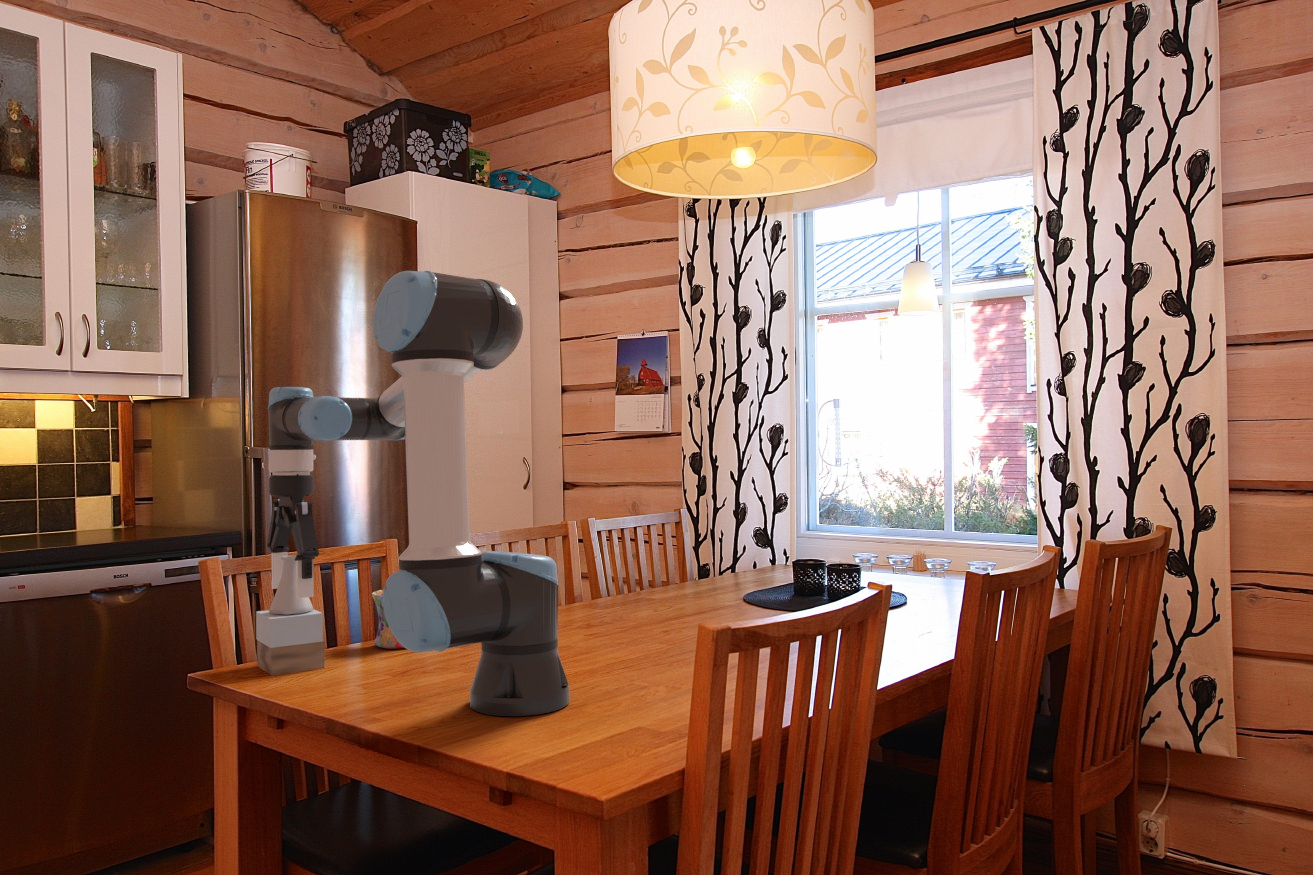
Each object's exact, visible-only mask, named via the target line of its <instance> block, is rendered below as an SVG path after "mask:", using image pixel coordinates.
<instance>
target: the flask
mask: <svg viewBox="0 0 1313 875" xmlns="http://www.w3.org/2000/svg"><path fill="white" fill-rule="evenodd" d="M296 555H297V554H295V555H293V554H292V555H288V556H282V557H281V560H283V570H282V575H281V580H280V583H279V585H278V588H277V589H276V592H275V594H274V597H273V599H272V601H271V605H270V607H269V609H268V610H269V612H271V613H273V614H285V615H288V614H300V613H305V612H308V611H312V610H315V609H314V606H313V604H312V600H310V597H306V598H297V589H296V561H295V557H296Z"/></svg>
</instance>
